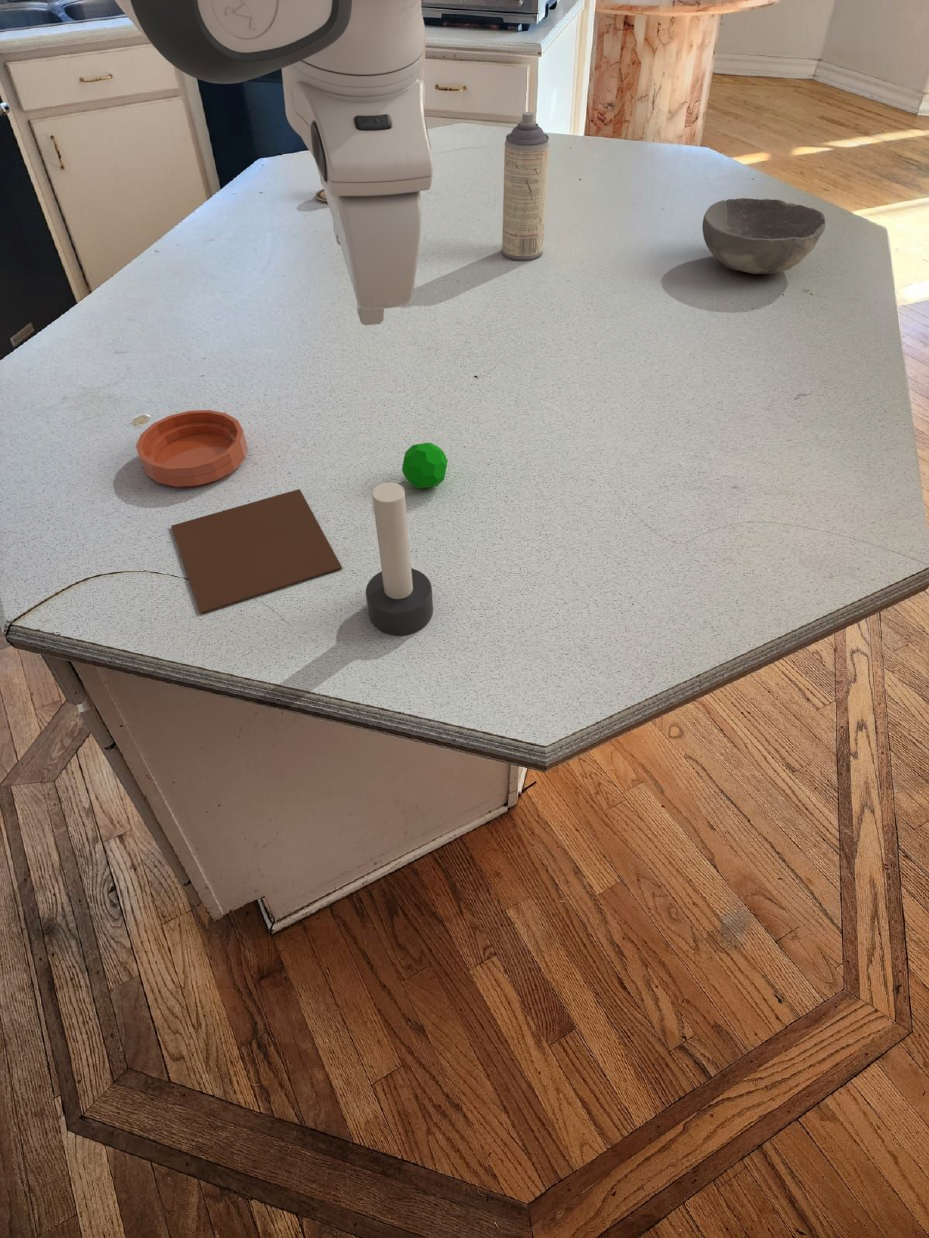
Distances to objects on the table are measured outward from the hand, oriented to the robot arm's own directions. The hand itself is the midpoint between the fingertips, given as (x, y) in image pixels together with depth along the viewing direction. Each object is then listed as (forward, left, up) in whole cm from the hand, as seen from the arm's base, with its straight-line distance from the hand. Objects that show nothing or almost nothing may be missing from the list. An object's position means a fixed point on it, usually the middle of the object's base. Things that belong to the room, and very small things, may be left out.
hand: (357, 277), depth 60 cm
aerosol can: (+47, +56, -26) cm, 77 cm away
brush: (-3, -12, -26) cm, 29 cm away
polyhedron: (+7, +5, -26) cm, 27 cm away
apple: (+28, +96, -26) cm, 103 cm away
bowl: (+77, +34, -26) cm, 88 cm away
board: (-13, +3, -26) cm, 29 cm away
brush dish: (-15, +21, -26) cm, 37 cm away
